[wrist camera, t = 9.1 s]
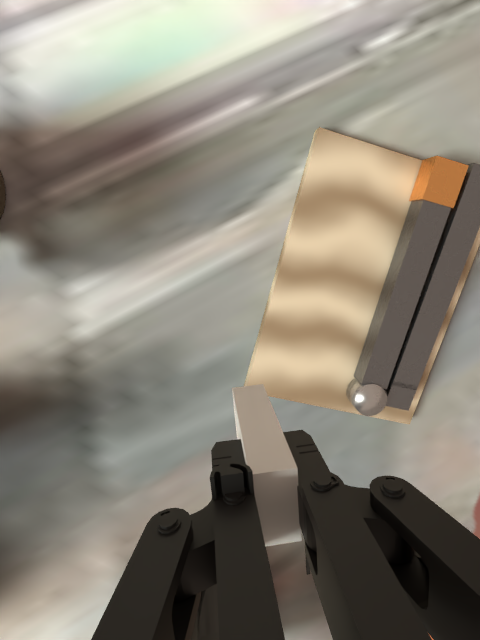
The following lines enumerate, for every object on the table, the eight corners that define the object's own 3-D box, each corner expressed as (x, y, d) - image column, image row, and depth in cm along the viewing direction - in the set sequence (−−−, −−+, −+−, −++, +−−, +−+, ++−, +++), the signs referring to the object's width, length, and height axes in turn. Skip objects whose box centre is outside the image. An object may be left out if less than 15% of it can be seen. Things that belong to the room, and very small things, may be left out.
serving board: (402, 418, 46) (409, 424, 45) (243, 385, 43) (245, 391, 42) (491, 187, 40) (502, 186, 39) (315, 131, 37) (319, 127, 36)
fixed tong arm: (398, 401, 44) (408, 410, 42) (375, 397, 43) (384, 405, 41) (484, 175, 38) (500, 172, 36) (459, 166, 38) (474, 163, 36)
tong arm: (370, 407, 43) (381, 418, 41) (341, 401, 43) (350, 412, 40) (453, 169, 38) (472, 165, 35) (421, 159, 37) (438, 154, 35)
